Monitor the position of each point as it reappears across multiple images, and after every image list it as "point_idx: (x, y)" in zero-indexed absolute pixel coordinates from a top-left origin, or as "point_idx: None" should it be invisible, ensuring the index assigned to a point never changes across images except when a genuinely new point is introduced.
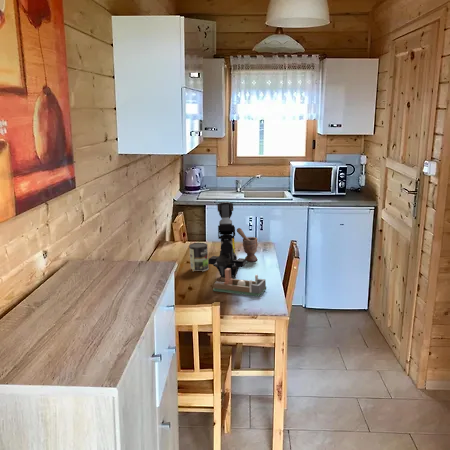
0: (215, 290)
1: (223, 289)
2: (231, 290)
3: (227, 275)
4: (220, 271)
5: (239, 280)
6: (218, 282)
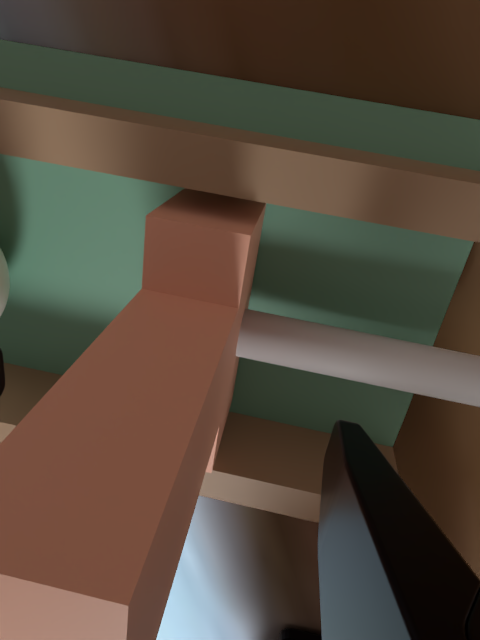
0: (451, 116)
1: (268, 125)
2: (86, 90)
3: (108, 383)
4: (401, 571)
5: (16, 423)
6: (424, 359)
